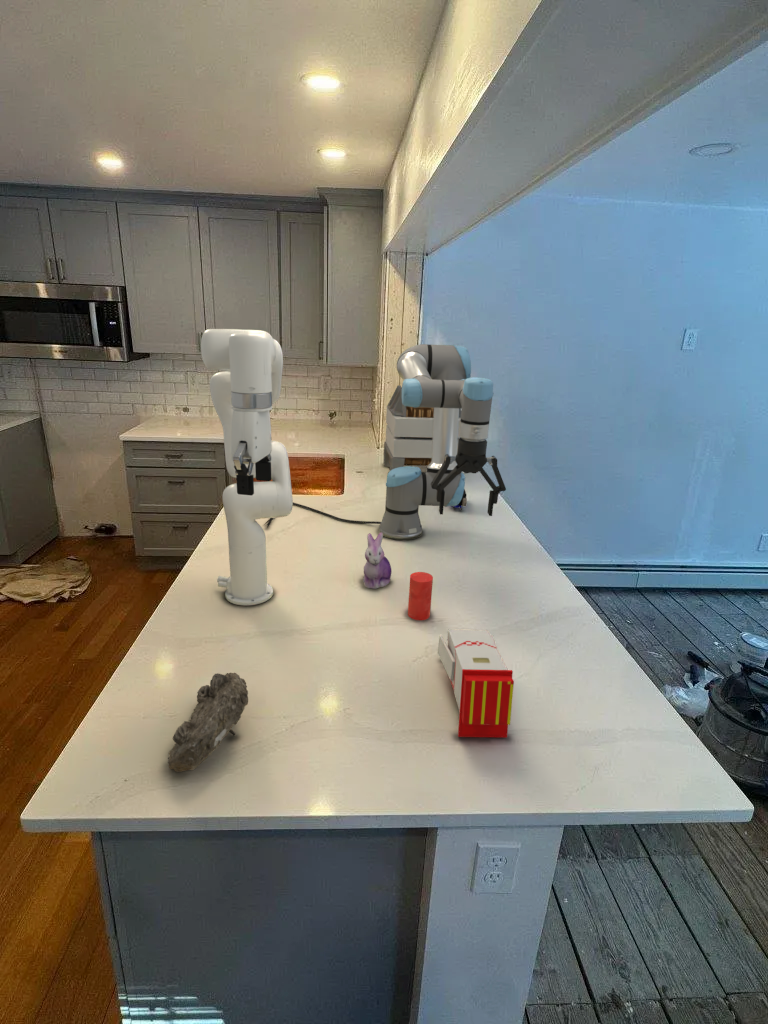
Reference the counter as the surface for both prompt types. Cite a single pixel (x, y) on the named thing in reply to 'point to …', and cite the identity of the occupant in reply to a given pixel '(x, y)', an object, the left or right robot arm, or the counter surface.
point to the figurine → (376, 564)
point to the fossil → (209, 721)
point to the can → (420, 595)
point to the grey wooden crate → (408, 434)
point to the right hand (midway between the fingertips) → (465, 513)
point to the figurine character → (462, 501)
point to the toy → (478, 682)
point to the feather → (269, 522)
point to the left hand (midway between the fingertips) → (255, 487)
